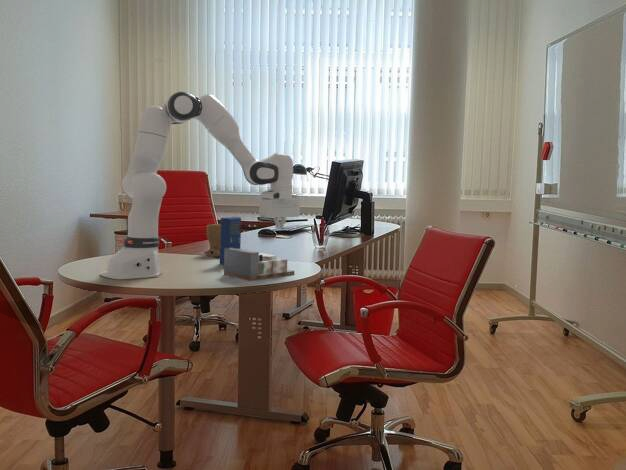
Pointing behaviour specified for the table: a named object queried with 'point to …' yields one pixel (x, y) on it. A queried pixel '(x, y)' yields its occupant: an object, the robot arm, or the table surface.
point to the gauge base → (267, 270)
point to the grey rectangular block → (241, 262)
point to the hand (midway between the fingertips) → (279, 228)
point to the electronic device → (230, 234)
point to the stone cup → (214, 240)
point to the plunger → (267, 257)
